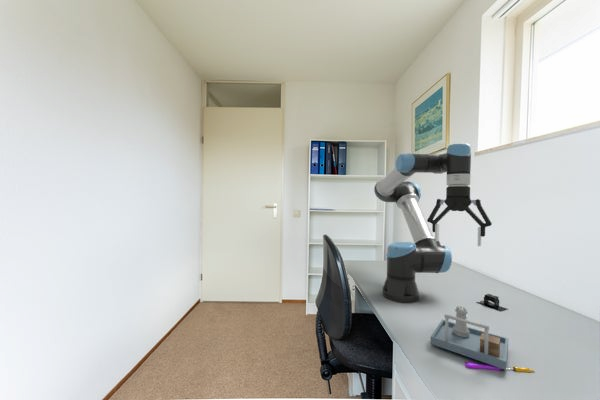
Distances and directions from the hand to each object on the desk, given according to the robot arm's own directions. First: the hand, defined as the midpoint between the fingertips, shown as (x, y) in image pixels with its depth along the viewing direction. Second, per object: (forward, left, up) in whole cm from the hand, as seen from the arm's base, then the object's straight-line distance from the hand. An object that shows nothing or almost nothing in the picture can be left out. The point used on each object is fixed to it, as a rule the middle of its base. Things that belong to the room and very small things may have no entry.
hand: (457, 243), depth 95 cm
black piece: (+9, +19, -27) cm, 35 cm away
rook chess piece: (+5, -19, -25) cm, 32 cm away
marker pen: (+14, -27, -27) cm, 41 cm away
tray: (+7, -22, -27) cm, 35 cm away
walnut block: (+12, -25, -25) cm, 37 cm away
